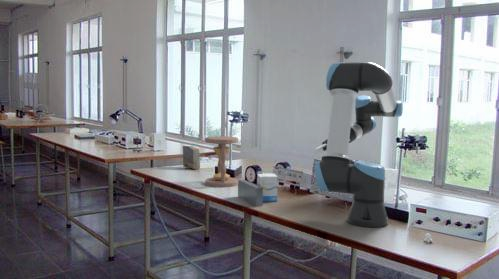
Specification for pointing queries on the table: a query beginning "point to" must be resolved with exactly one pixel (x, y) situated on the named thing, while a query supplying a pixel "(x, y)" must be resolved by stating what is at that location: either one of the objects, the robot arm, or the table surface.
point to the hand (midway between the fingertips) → (316, 151)
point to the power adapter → (428, 238)
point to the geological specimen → (191, 157)
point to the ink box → (268, 186)
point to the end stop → (250, 192)
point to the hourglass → (221, 162)
